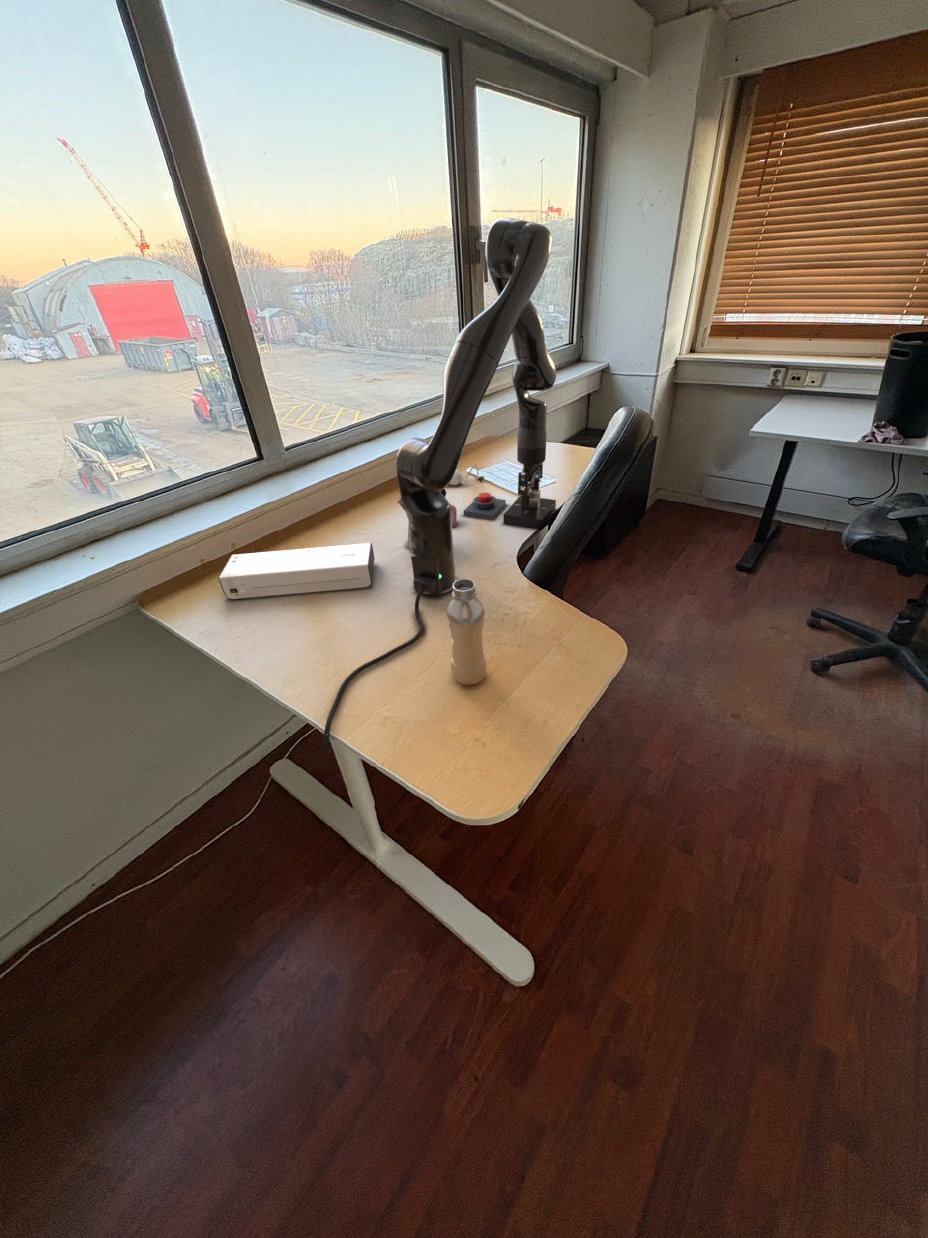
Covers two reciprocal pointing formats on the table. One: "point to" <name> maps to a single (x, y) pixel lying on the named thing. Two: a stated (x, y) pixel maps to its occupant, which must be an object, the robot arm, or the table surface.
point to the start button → (484, 497)
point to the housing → (485, 508)
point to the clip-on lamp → (459, 477)
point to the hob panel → (529, 514)
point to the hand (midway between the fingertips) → (530, 501)
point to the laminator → (298, 571)
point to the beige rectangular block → (534, 499)
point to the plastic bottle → (466, 633)
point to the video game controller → (453, 514)
